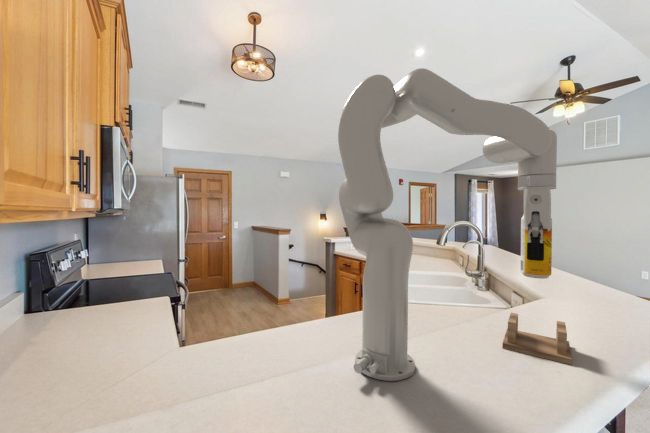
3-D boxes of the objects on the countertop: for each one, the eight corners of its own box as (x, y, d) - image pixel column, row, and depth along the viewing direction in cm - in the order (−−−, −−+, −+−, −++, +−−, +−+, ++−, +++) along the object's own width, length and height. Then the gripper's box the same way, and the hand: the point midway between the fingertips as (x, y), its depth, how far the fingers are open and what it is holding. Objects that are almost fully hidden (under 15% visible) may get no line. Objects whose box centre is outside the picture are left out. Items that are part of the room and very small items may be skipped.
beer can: (556, 279, 68) (557, 214, 68) (527, 278, 70) (528, 214, 69) (543, 273, 74) (543, 213, 74) (516, 272, 75) (516, 214, 75)
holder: (572, 365, 64) (572, 336, 64) (502, 348, 72) (502, 322, 72) (568, 346, 73) (569, 321, 73) (507, 332, 81) (507, 310, 81)
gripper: (557, 180, 62) (556, 265, 63) (555, 184, 76) (554, 254, 76) (515, 182, 66) (514, 262, 67) (520, 186, 80) (519, 252, 81)
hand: (535, 257), depth 72 cm, fingers closed on beer can, 6 cm apart
